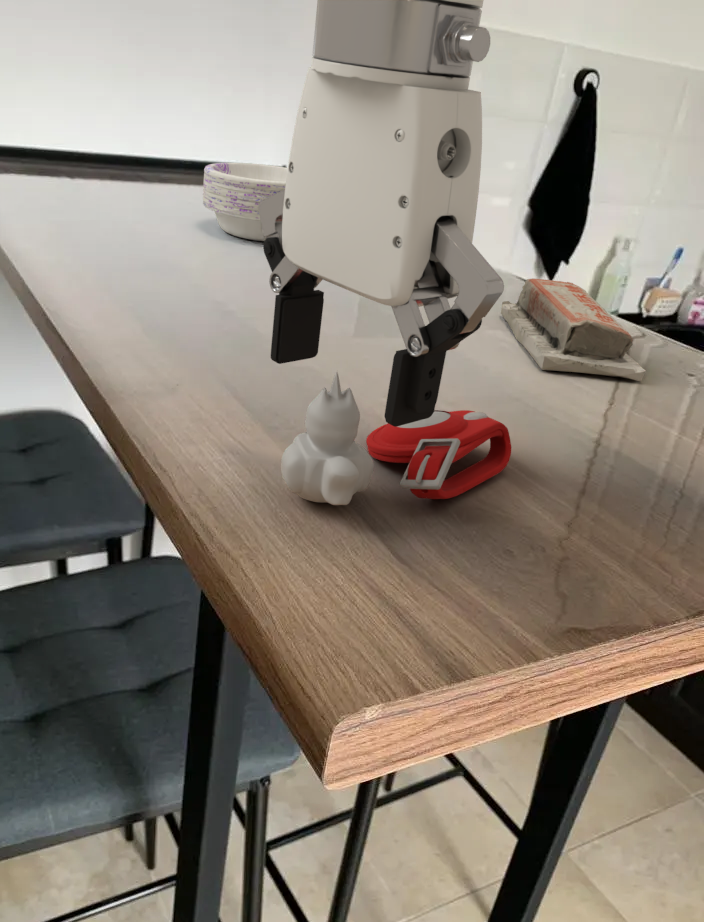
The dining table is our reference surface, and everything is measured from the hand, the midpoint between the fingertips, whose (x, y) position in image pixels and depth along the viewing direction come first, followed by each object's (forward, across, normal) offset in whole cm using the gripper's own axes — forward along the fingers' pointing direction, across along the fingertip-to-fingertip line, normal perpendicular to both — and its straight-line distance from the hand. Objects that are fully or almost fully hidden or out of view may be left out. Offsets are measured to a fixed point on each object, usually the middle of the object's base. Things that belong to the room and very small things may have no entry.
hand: (347, 387), depth 49 cm
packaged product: (+8, +14, -43) cm, 46 cm away
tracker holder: (+8, 0, -8) cm, 11 cm away
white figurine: (+7, 0, +1) cm, 8 cm away
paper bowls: (+8, +60, -39) cm, 72 cm away
